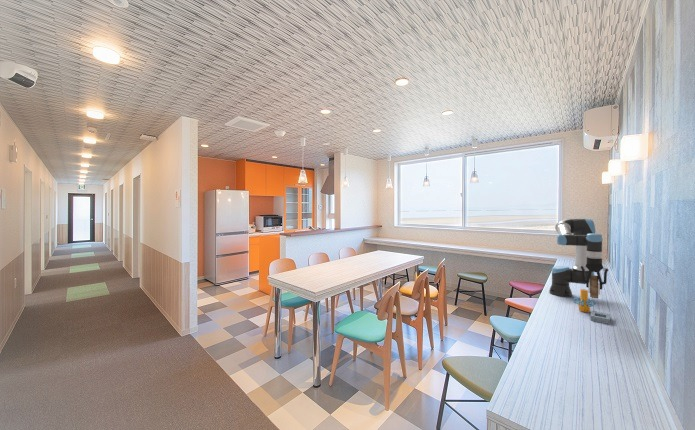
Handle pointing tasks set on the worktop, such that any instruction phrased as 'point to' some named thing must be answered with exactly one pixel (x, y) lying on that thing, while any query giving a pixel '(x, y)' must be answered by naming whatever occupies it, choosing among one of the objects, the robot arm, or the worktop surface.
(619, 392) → the worktop surface
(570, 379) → the worktop surface
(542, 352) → the worktop surface
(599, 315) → the socket plate
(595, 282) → the peg
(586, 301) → the yellow and blue toy
